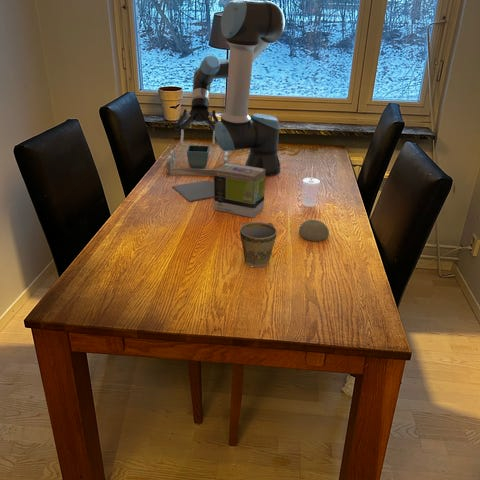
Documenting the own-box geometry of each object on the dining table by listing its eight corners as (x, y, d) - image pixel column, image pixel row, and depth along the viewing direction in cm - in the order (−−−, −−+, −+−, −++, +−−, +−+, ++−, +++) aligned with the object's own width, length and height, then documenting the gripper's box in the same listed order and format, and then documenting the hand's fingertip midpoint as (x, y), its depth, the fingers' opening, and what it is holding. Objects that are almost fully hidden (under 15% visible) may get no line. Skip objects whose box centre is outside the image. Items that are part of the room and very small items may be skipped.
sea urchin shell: (312, 241, 138) (303, 216, 140) (300, 249, 145) (291, 225, 147) (336, 235, 142) (327, 211, 143) (323, 243, 149) (315, 220, 150)
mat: (228, 194, 173) (228, 193, 172) (189, 202, 165) (189, 200, 165) (209, 180, 185) (209, 179, 185) (172, 187, 178) (172, 185, 177)
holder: (172, 161, 204) (171, 148, 201) (227, 163, 204) (228, 150, 202) (167, 174, 190) (166, 160, 187) (226, 176, 190) (226, 162, 187)
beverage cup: (320, 204, 167) (325, 167, 161) (310, 208, 163) (315, 171, 157) (306, 199, 171) (310, 162, 165) (296, 203, 167) (300, 166, 161)
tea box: (264, 208, 163) (266, 168, 156) (253, 219, 155) (255, 177, 148) (226, 200, 168) (226, 160, 161) (213, 210, 160) (213, 169, 153)
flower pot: (208, 172, 193) (208, 151, 189) (186, 172, 193) (186, 151, 189) (209, 166, 201) (209, 145, 197) (189, 165, 201) (189, 145, 197)
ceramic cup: (263, 275, 124) (265, 242, 119) (231, 264, 128) (232, 231, 124) (285, 255, 134) (288, 224, 129) (255, 245, 138) (257, 215, 133)
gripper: (229, 107, 207) (226, 150, 200) (173, 105, 207) (169, 148, 200) (228, 97, 199) (226, 141, 193) (170, 95, 199) (166, 139, 193)
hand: (197, 145), depth 197 cm, fingers open, 13 cm apart
